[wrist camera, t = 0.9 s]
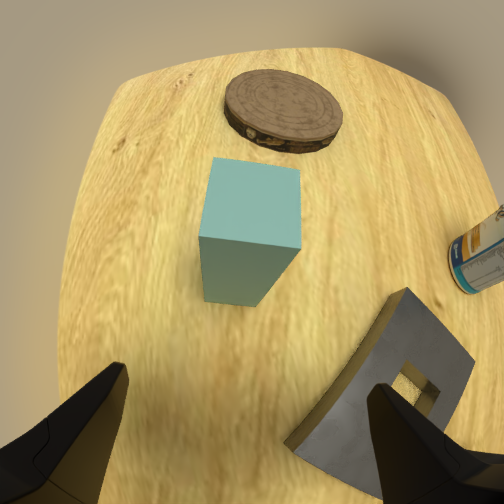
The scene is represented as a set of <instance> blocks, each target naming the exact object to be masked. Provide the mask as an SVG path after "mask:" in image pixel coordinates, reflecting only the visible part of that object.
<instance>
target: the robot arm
mask: <svg viewBox="0 0 504 504" xmlns="http://www.w3.org/2000/svg"><path fill="white" fill-rule="evenodd" d="M128 385H129V377H128V372H127V368H126V365H125V364H124V363H120V362H113V363H111V364H110V365H109V366H108V367H106V368H105V369H104V370H103V371H102V372H100V373H99V374H98V375H97V376H96V377H94V378H93V379H92V380H91V381H89V382H88V383H87V384H86V385H85V386H83V387H82V388H81V389H80V390H79V391H77V392H76V393H75V394H74V395H72V396H71V397H70V398H69V399H68V400H66V401H65V402H64V403H63V404H62V405H60V406H59V407H58V408H57V409H55V410H54V411H53V412H52V413H51V414H49V415H48V416H47V417H46V418H44V419H43V420H42V421H41V422H40V423H38V424H37V425H36V426H34V427H33V428H32V429H31V430H29V431H28V432H26V433H25V434H23V435H22V436H20V437H19V438H17V439H15V440H14V441H12V442H10V443H9V444H7V445H6V446H4V447H2V448H1V449H0V504H97V503H98V499H99V495H100V491H101V487H102V484H103V480H104V476H105V473H106V469H107V465H108V462H109V459H110V455H111V452H112V448H113V445H114V442H115V439H116V436H117V432H118V429H119V426H120V423H121V419H122V414H123V409H124V404H125V399H126V394H127V390H128ZM366 403H367V410H368V419H369V428H370V435H371V440H372V444H373V449H374V454H375V459H376V464H377V469H378V474H379V480H380V486H381V491H382V498H383V504H504V464H488V463H485V462H483V461H481V460H480V459H478V458H477V457H475V456H474V455H472V454H471V453H469V452H468V451H466V450H465V449H464V448H462V447H461V446H459V445H458V444H457V443H456V442H454V441H453V440H452V439H451V438H449V437H448V436H447V435H446V434H444V432H442V431H441V430H440V429H439V428H438V427H437V426H435V425H434V424H433V423H432V422H431V421H430V420H429V419H427V418H426V417H425V416H424V415H423V414H422V413H420V412H419V411H418V410H417V409H416V408H415V407H414V406H412V405H411V404H410V403H409V402H408V401H407V400H405V399H404V398H403V397H402V396H401V395H400V394H399V393H397V392H396V391H395V390H394V389H393V388H392V387H391V386H389V385H388V384H387V383H377V384H375V386H374V387H373V389H372V390H371V391H370V393H369V394H368V396H367V399H366Z"/></svg>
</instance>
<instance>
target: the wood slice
mask: <svg viewBox="0 0 504 504" xmlns="http://www.w3.org/2000/svg"><path fill="white" fill-rule="evenodd" d="M224 114H225V116H226V118H227V121H228V123H229V125H230V126H231V127H232V128H233V129H234V130H236V131H237V132H238V133H239V134H240V135H241V136H242V137H244V138H246V139H248V140H249V141H251V142H253V143H255V144H257V145H258V146H261V147H265V148H268V149H271V150H274V151H277V152H285V153H294V154H302V153H310V152H316V151H319V150H321V149H323V148H325V147H327V146H329V144H330V143H331V142H332V140H333V139H334V138H335V136H336V134H337V132H338V130H339V128H340V127H341V125H342V120H343V112H342V110H341V107H340V105H339V103H338V101H337V100H336V99H335V98H334V97H333V96H332V94H331V93H330V92H329V91H327V90H326V89H325V88H323V87H322V86H321V85H319V84H318V83H316V82H314V81H312V80H310V79H308V78H306V77H304V76H301V75H298V74H294V73H291V72H288V71H281V70H274V69H261V70H253V71H249V72H245V73H242V74H240V75H238V76H237V77H235V78H233V79H232V80H231V81H230V83H229V84H228V85H227V87H226V94H225V105H224Z"/></svg>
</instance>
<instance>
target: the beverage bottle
mask: <svg viewBox="0 0 504 504" xmlns="http://www.w3.org/2000/svg"><path fill="white" fill-rule="evenodd" d="M449 263H450V268H451V272H452V275H453V277H454V279H455V281H456V283H457V284H458V286H459V287H460V288H461V289H462V290H463V291H464V292H466V293H468V294H476V293H478V292H480V291H482V290H484V289H486V288H488V287H491V286H493V285H495V284H497V283H500V282H502V281H504V204H503V205H501V206H500V208H499V209H498V210H497V211H496V212H494V213H493V214H492V215H490V216H489V217H488V218H486V219H485V220H484V221H482V222H481V223H479V224H478V225H477V226H475V227H474V228H472V229H471V230H469V231H468V232H467V233H465V234H464V235H462V236H460V237H458V238H457V239H455V240H454V241H453V242H452V244H451V246H450V250H449Z"/></svg>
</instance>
